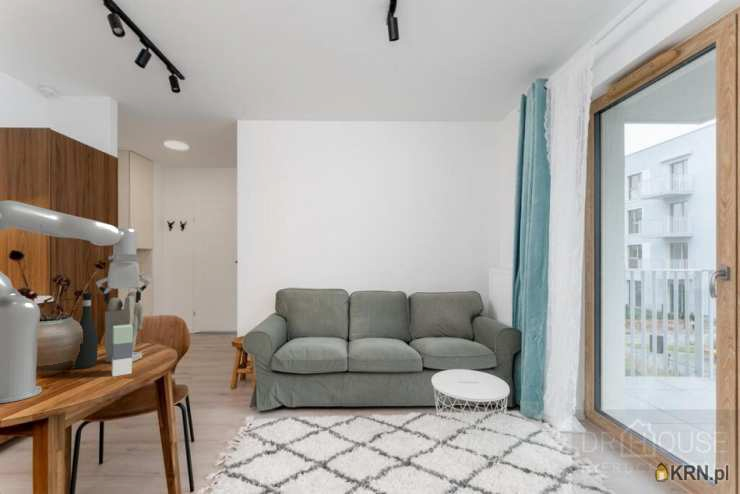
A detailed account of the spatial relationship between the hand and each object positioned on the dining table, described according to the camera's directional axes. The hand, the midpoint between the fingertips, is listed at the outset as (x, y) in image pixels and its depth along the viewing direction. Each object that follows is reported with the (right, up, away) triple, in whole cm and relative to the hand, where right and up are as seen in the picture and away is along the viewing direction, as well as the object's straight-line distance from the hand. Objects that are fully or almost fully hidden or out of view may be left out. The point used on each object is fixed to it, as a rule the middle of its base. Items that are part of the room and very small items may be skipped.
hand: (122, 303), depth 142 cm
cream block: (0, -27, 0) cm, 27 cm away
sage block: (0, -15, 0) cm, 15 cm away
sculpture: (-10, -28, +16) cm, 33 cm away
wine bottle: (-20, -27, +7) cm, 34 cm away
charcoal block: (0, -21, 0) cm, 21 cm away
